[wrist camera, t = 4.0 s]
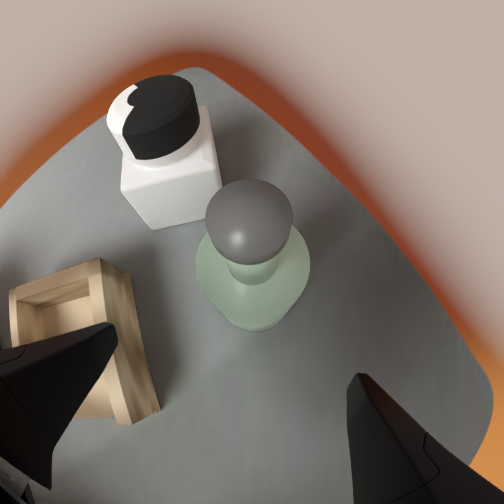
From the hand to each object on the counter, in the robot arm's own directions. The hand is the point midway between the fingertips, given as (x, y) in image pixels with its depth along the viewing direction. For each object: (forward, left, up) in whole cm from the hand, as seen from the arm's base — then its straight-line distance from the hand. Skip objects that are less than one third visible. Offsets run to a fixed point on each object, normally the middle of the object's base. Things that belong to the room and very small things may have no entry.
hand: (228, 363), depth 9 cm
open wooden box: (+5, +14, -12) cm, 19 cm away
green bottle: (+4, -2, -12) cm, 13 cm away
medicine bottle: (+16, 0, -12) cm, 20 cm away
